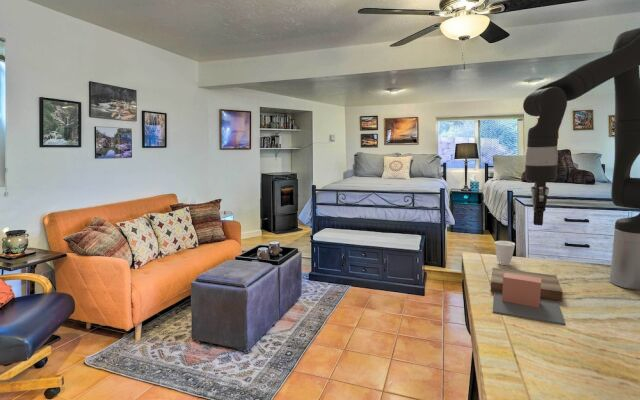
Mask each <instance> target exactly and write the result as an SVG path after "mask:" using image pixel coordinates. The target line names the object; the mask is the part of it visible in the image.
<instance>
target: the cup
mask: <svg viewBox="0 0 640 400" xmlns="http://www.w3.org/2000/svg"><path fill="white" fill-rule="evenodd" d="M494 246H495V248H494V249H495V256H496V260H497V262H499V264H501V265H500V266H503V265H506V266H505V267H507V265H509V266H510V265H511V262H512V260H513V255H514V251H515V246H516V243H515V242H513V241H509V240H496V241H494ZM500 262H501V263H500ZM499 264H498V265H499Z"/></svg>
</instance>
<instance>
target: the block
mask: <svg viewBox="0 0 640 400" xmlns="http://www.w3.org/2000/svg"><path fill="white" fill-rule="evenodd" d="M540 292H541V278H537V277H530V276H523V275H517V274H510V273H504V276H503V291H502V301H506V302H511V303H516V304H522V305H527V306H532V307H537V308H539V306H540Z"/></svg>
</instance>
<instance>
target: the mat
mask: <svg viewBox="0 0 640 400" xmlns="http://www.w3.org/2000/svg"><path fill="white" fill-rule="evenodd" d="M492 304H493V305H492V313H493V314H498V315H504V316H509V317H516V318H517V317H518V318H522V319H528V320H534V321H539V322H544V323H549V324H550V323H551V324H556V325H563V326H566V321H565V318H564V315H563V312H562V309H561V306H560V303H559V301H553V300H546V299H540V306H539V308H537V307H532V306H527V305H522V304H516V303H511V302H506V301H502V293H499V292H493V301H492Z"/></svg>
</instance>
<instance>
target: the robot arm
mask: <svg viewBox="0 0 640 400" xmlns="http://www.w3.org/2000/svg"><path fill="white" fill-rule="evenodd" d="M612 79H613V85H614V125H613V126H614V128H613V130H614V161H613V162H614V163H613V172H612V181H611V191H610V193H611V195H610V196H611V201H612V203H613V205H614V206H615V207H621V208H629V209H638V210H640V177H631V170H632V167H633V165H634V163H635V161H636V159H638V158H639V157H638V156H639V155H640V27H637V28H634V29H630V30H626V31H624V32H621V33H619V35H617V36H616V38H615V39H614V40H613V43H612V47H611V53H608V54H606V55H604V56H601V57H599V58H595V59H593V60H590V61H588V62H586V63H584V64H582V65H580V66H579V67H577V68H575V69H573V70H571V71H570V72H568V73H566V74H565V75H563V76H561V77H560V78H558V79H556V80H554V81H552V82H549V83H548V84H544V85H542V86H540V87H538V88H536V89H535V90H533V91H531V92H529V93H528V94H527V95H526V97H525V98H524V100H523V104H522V108H523V111H524V112H525V113H526V114H527V115H528V116H531V117H538V119H537V123H536V124H535V125H532V126H530V128H528V132H527V140H526V141H527V144H526V153H525V164H524V167H525V168H524V180H525V181H527V182H534V186H530V192H531V202H532V210H533V225H535V226H543V224H544V213H545V211H546V208H547V207H546V206H547V204H548V195H549V190H550V188H549V186H547V182H555V181H556V180H557V179H558V160H559V158H558V157H559V153H558V140H559V130H560V127H561V124H562V122H563V119H564V116H565V112H566V110H567V106H568V102H569V101H574V100H576V99H578V98H580V97H582V96H583V95H585V94H587V93H588V92H590V91H591V90H594V89H595V88H597V87H598V86H601V85H602V84H604V83H606V82H608V81H610V80H612ZM613 233H614V234H613V243H612V251H611V252H612V253H611V261H610V262H611V264H610V273H609V282H610V283H611V284H612V285H614V286H618V287H619V288H620V287H621V288H624V289H629V290H639V291H640V212H639V214H637V215H635V216H630V217H623V218H619V219H616V220H615V223H614V232H613Z"/></svg>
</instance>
